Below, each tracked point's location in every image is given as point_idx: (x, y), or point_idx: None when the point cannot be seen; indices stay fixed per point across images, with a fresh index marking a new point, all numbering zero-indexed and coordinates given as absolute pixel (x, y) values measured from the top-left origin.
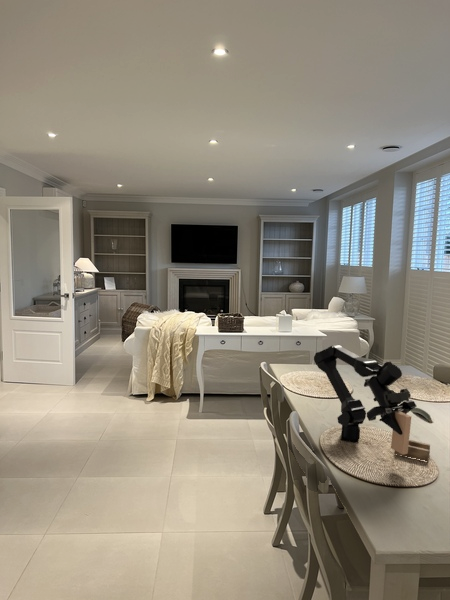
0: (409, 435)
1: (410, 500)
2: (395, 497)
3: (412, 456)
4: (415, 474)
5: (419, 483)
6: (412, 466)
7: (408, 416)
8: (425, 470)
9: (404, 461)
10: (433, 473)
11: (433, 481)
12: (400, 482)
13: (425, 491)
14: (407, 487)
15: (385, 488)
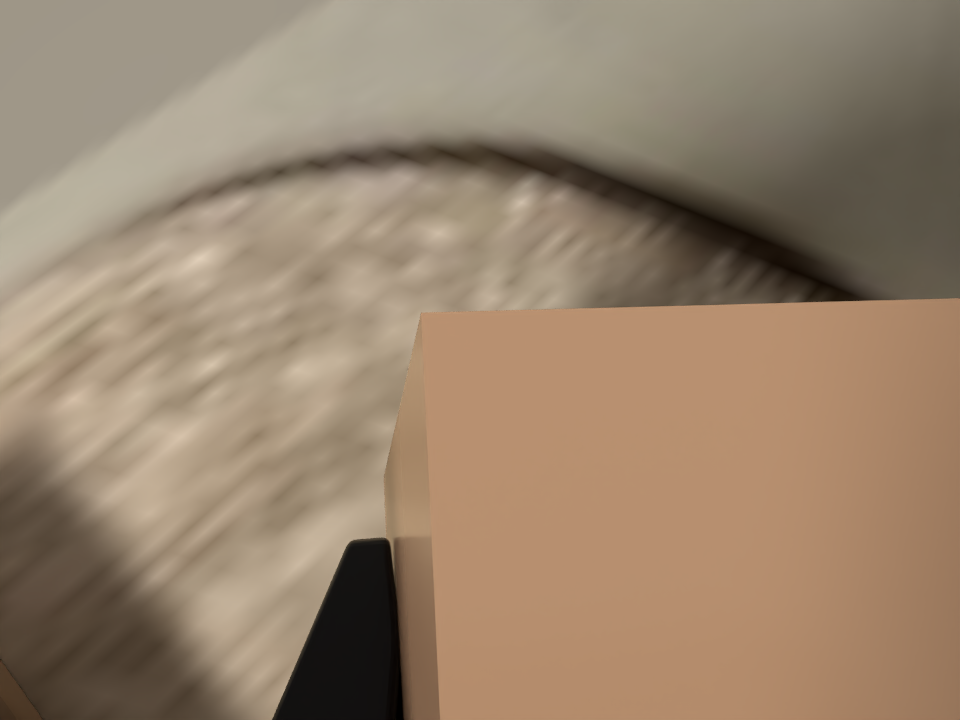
0: (388, 456)
1: (790, 29)
2: (888, 116)
3: (10, 718)
4: (354, 358)
5: (473, 198)
6: (218, 529)
7: (790, 388)
8: (139, 386)
9: (207, 684)
10: (106, 293)
11: (280, 165)
12: (659, 291)
13: (537, 69)
14: (658, 192)
15: (882, 264)
